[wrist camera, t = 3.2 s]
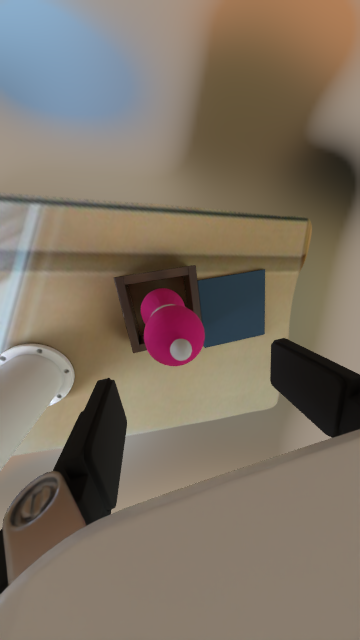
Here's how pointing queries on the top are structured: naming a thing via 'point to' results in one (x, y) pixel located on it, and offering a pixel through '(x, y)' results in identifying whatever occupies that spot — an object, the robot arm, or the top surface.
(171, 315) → the pepper mill
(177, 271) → the stand
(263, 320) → the mat
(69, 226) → the top surface
